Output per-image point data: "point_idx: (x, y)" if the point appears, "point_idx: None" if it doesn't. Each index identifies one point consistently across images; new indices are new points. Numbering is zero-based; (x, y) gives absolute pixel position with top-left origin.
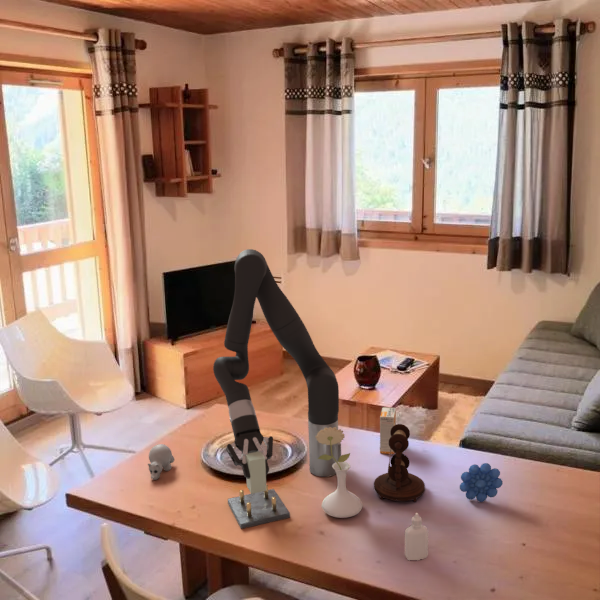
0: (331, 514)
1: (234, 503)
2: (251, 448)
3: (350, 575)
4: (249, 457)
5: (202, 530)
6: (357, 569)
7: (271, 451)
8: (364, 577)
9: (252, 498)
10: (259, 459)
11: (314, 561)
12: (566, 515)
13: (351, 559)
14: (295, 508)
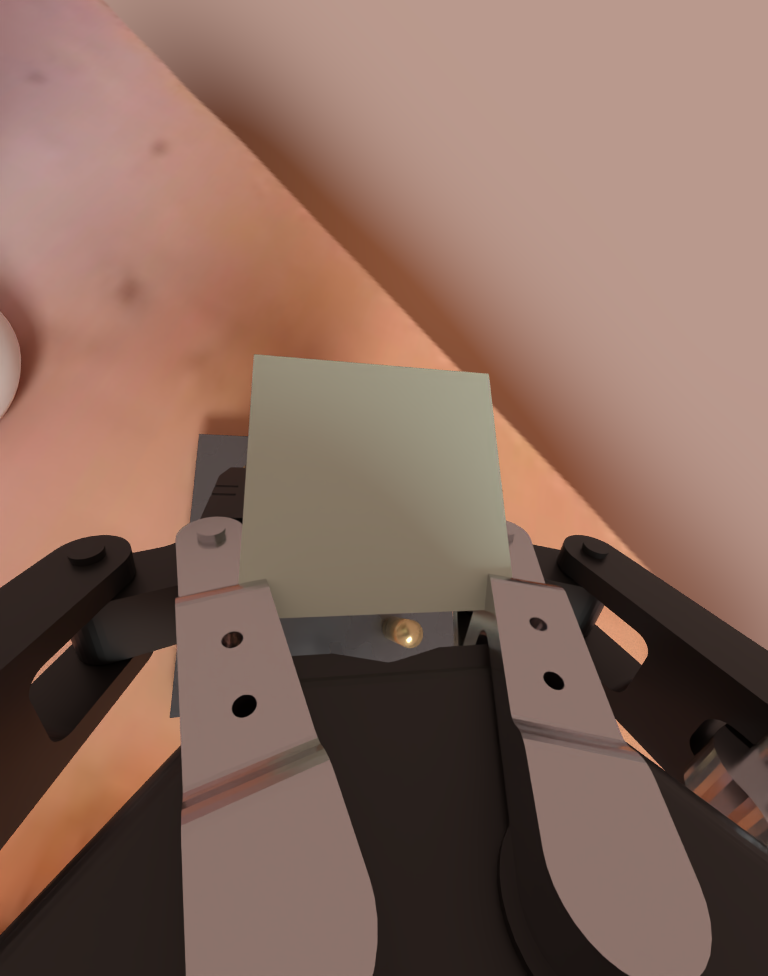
0: (7, 321)
1: (433, 629)
2: (404, 694)
3: (172, 83)
4: (475, 460)
5: (571, 508)
6: (133, 89)
7: (19, 592)
8: (135, 57)
9: (331, 645)
10: (345, 369)
11: (246, 180)
12: None
13: (120, 128)
14: (140, 506)
